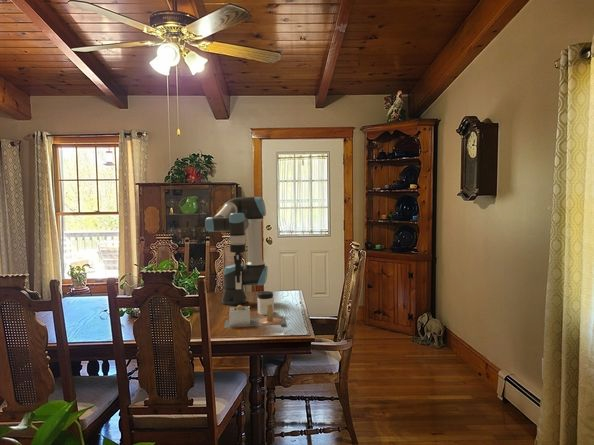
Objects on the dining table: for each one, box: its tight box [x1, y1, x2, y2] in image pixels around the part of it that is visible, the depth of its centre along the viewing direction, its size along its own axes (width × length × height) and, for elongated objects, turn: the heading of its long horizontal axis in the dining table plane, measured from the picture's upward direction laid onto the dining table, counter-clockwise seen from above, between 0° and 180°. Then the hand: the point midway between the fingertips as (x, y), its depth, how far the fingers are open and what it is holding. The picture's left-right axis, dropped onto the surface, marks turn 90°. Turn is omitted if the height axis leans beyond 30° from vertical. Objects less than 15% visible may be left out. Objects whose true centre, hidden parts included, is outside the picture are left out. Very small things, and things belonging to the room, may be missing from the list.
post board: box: [223, 304, 287, 329], centre depth 213 cm, size 30×14×10 cm, turn 96°
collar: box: [228, 305, 251, 326], centre depth 212 cm, size 10×10×7 cm
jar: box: [256, 290, 275, 316], centre depth 231 cm, size 9×8×12 cm
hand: (238, 286), depth 211 cm, fingers open, 13 cm apart
